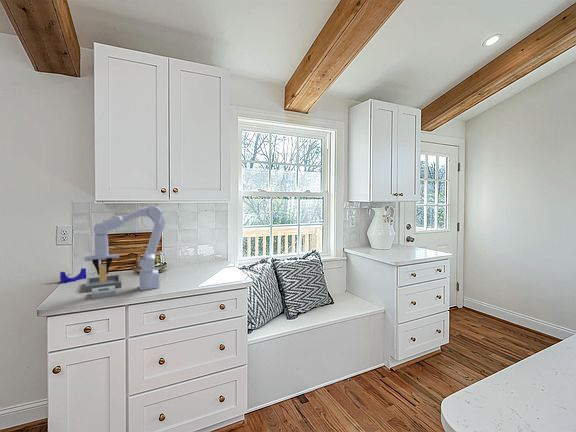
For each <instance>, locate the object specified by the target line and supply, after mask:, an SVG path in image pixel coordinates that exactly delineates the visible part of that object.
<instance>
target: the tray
mask: <svg viewBox="0 0 576 432" xmlns="http://www.w3.org/2000/svg"><path fill="white" fill-rule="evenodd" d="M121 278H122V277H121V274H120V273H119V274H113V275H107V281H103V282H100V278H99V276H95V277H86V283H85V286H84V287H85V293H90V292H92V288H100V287H107V286H115V289H119V288H122V279H121Z"/></svg>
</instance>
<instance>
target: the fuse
mask: <svg viewBox="0 0 576 432" xmlns="http://www.w3.org/2000/svg"><path fill="white" fill-rule="evenodd" d="M106 268H107V266H106V263H104V264H99V275H98V277H99V278H100V282H103V281H107V276H108V275H107V274H106Z"/></svg>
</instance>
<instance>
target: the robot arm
mask: <svg viewBox="0 0 576 432" xmlns="http://www.w3.org/2000/svg"><path fill="white" fill-rule="evenodd" d="M163 213H164V212H163V211H162V210H161V209H160V207H158V206H157V205H148V206H145V207H142V208H139V209H136V210H134V211H132V212H130V213H129V212H128V213H127V214H125V215H123V216H120V215H112V217H111V218H109V219H106V220H105V219H103V220H102V222H98V223H96V224H95V225H94V228H93V231H94V253H95V255H90V256H84V258H83V259H84V262H91V261H92V263H91V264H93V266H94V268H95V269H96V272H97V276H99V265H100V264H99V263H100V262H99V261H101V260H105V261H106V262H105V264H106V274H109V268H110V267H111V264H112V262H113V259H120V254H119V253H113V254H112V253H109V249H110V248H109V237H108V232H111V231H115V230H117V229H119V228H121V227H124V224H125V223H126V222H129V221H132V220H134V219H136V218H139V217H149V219H150V220H151V221H152V222H153V224H154V226H153V228H152V232H151V235H150V237H149V241H148V243H147V246H146V249H145V253H144V254H143V256H142V258H141V259H140V260H139V262H138V265H139V268H140V270H139V285H138V288H139V291H145V290H146V291H147V290H151V289H158V288H160V273H159V270H157V269H156V270H155V259H156V253H157V249H158V246H159V244H160V241H161V238H162V235H163V232H164V229H165V226H166V222H165V218H164V216H163V215H164V214H163Z"/></svg>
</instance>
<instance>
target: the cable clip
mask: <svg viewBox="0 0 576 432" xmlns="http://www.w3.org/2000/svg"><path fill="white" fill-rule="evenodd" d="M59 278H60V279H59V280H60V281H59V282H60V283H61V284H68V283H72V282H73V283H74V282H76V281H81V280H85V279H86V280H87V268H86V267H82V268H80V271H79V273H78V274H77V275H76V276H74V277H69V276H67V274H66V272H65V271H60V272H59Z"/></svg>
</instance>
